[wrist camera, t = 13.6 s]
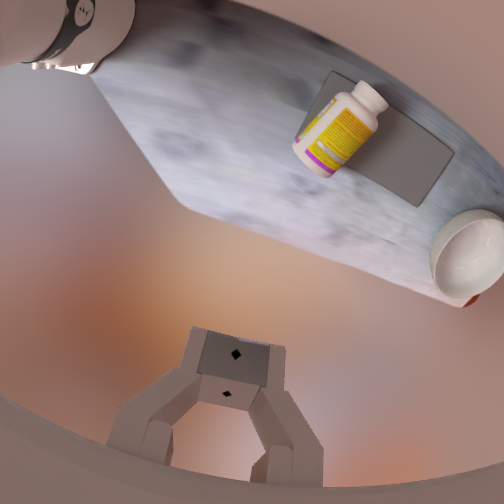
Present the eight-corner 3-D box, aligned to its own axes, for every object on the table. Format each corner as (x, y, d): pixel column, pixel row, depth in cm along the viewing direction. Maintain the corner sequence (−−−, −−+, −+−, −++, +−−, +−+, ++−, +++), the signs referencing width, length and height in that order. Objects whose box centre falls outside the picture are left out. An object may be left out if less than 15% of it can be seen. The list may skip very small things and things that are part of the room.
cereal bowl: (406, 267, 52) (417, 293, 46) (443, 185, 42) (462, 206, 36) (472, 280, 52) (485, 304, 46) (509, 210, 42) (528, 231, 36)
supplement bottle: (335, 186, 40) (402, 119, 33) (305, 170, 35) (379, 92, 29) (312, 155, 43) (372, 93, 37) (282, 138, 39) (346, 67, 32)
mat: (294, 137, 41) (295, 139, 41) (331, 70, 35) (331, 71, 35) (415, 205, 45) (416, 207, 44) (452, 151, 39) (453, 152, 38)
